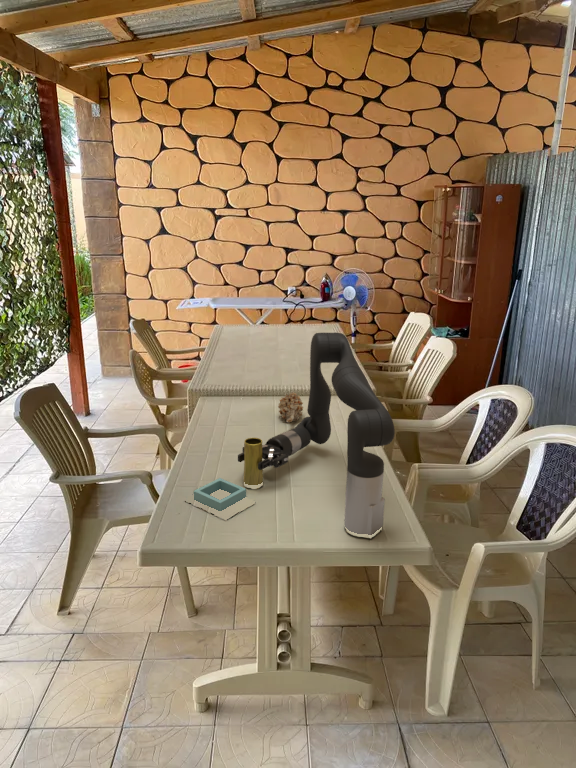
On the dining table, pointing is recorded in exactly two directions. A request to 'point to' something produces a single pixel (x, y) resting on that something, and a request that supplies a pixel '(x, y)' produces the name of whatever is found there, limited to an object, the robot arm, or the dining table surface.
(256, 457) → the vase
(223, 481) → the dock
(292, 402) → the pine cone
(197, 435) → the dining table surface
